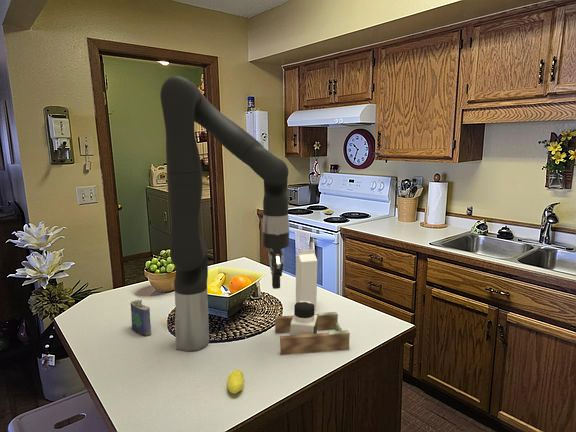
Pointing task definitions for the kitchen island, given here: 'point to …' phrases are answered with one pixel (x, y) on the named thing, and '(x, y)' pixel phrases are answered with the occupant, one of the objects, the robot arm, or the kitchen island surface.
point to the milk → (306, 277)
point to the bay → (313, 336)
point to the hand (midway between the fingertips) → (276, 287)
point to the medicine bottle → (303, 319)
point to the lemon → (235, 381)
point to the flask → (140, 318)
